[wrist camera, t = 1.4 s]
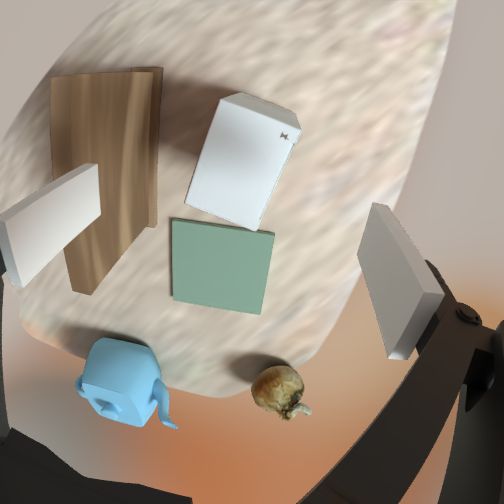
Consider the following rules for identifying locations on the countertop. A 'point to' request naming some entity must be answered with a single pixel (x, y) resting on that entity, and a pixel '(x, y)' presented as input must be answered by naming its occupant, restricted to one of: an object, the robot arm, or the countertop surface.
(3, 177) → the countertop surface
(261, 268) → the mat
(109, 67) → the countertop surface
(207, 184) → the small box
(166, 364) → the countertop surface
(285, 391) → the onion
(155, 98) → the screen
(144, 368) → the teapot
